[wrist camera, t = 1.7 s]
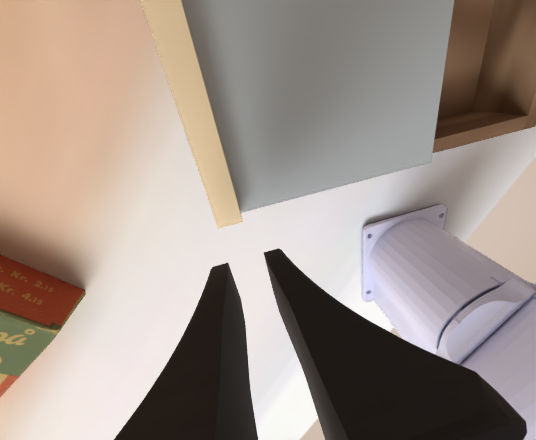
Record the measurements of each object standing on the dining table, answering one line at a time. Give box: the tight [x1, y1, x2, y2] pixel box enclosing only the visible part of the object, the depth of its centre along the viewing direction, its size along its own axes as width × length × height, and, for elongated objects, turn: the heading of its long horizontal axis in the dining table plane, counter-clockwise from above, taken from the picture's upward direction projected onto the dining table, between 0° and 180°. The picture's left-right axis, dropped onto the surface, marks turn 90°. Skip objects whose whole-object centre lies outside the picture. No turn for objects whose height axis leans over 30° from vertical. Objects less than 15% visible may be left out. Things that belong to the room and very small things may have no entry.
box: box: [432, 0, 536, 153], centre depth 13 cm, size 14×12×4 cm
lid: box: [140, 0, 454, 228], centre depth 10 cm, size 14×12×2 cm
